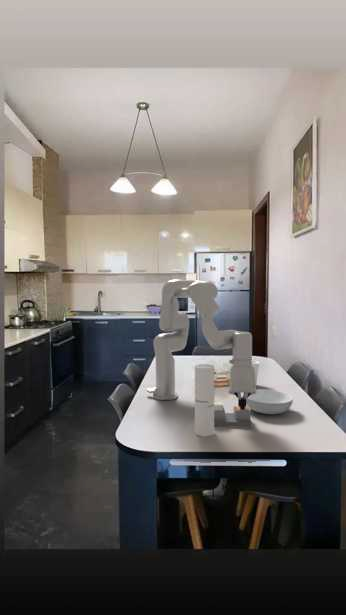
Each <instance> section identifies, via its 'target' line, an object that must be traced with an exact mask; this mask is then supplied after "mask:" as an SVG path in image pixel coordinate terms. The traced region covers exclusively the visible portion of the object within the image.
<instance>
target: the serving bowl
mask: <svg viewBox="0 0 346 615" xmlns="http://www.w3.org/2000/svg"><path fill="white" fill-rule="evenodd" d="M293 401H294V398H293V396H292V395H290V394H289V393H287V392H284V391H279V390H273V389H262V388H261V389H259V388H258V389H256V394H253V395H250V396H249V397H248V398H247V399H246V406H248V408H249V409H250V410H253V411H254V412H257V413H260V414H264V415H277V414H278V415H279V414H282V413H285V412H288V410H289V409H291V407H292V404H293Z"/></svg>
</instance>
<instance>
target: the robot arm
mask: <svg viewBox="0 0 346 615" xmlns="http://www.w3.org/2000/svg"><path fill="white" fill-rule="evenodd" d="M218 293H219V291H218V287H217V286H216V284H215V283H212V282H211V281H203V280H202V281H201V280H196V279H195V280H192V279H171V280H168V281H166V282H165V283H164V284H163V286H162V289H161V306H160V308H161V309H160V316H159V323H158V326H159V329H160V330H161V331H163V332H164V333H160V334H158V335H156V336H155V337H154V338H153V349H154V354H155V386H154V387H153V388H152V387H151V388H150V387H149V388H147V389H146V393H149V394H152V398H153V399H155V400H158V401H160V400H161V401H170V400H175V399H177V398H179V394H178V392H176V365H175V364H176V361H175V358H174V356H173V352H179V351H183V350H184V349H185V347H186V345H187V342H188V336H189V329H190V319H189V316H188V314H187V313H186V312H184V311H179V310H180V309H179V308H180V303H179V300H178V299H180V298H181V299H185V298H186V299H189V298H190V300H191V301H192V303H193V304H194V306H195V307H196V310H198V312H199V314H200V316H201V323H200V326H201V332H202V335H203V336H204V338H205V340H206V341H207V343H208V344H209V346H210V347H211V348H212V349H214V350H216V351H217V350H218V351H221V350H225V349H232V359H229V360H228V363H229V364H231V366H230V371H229V380H228V381H229V383H228V386H229V388H228V389H229V390H228V394H230V395H234V396H235V397H236V398H237V399H238V400H237V403H238V404H237V405H238V406H239V407H240V409H245V407H246V406H247V405H246V399H247V398H248V397H249V396H250V395H253V394H256V390H257V384H256V378H255V369H254V367H253V366H252V361H253V335H252V333H251V332H249V331H239V330H236V329H224V330H219V329H218V327H217V326H216V324H215V323H214V320H213V319H214V318H213V317H215V316H216V315H217V314H218V313H219V311H220V305H218V303H217V301H216V300H215V299H216V298H217V297H218ZM242 393H243V396H242Z"/></svg>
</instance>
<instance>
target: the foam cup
mask: <svg viewBox="0 0 346 615" xmlns="http://www.w3.org/2000/svg"><path fill="white" fill-rule="evenodd" d="M252 366H253V367H254V369H255V378H256V385H257V382H258V375H259V368H260V361H257V360H252Z"/></svg>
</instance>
